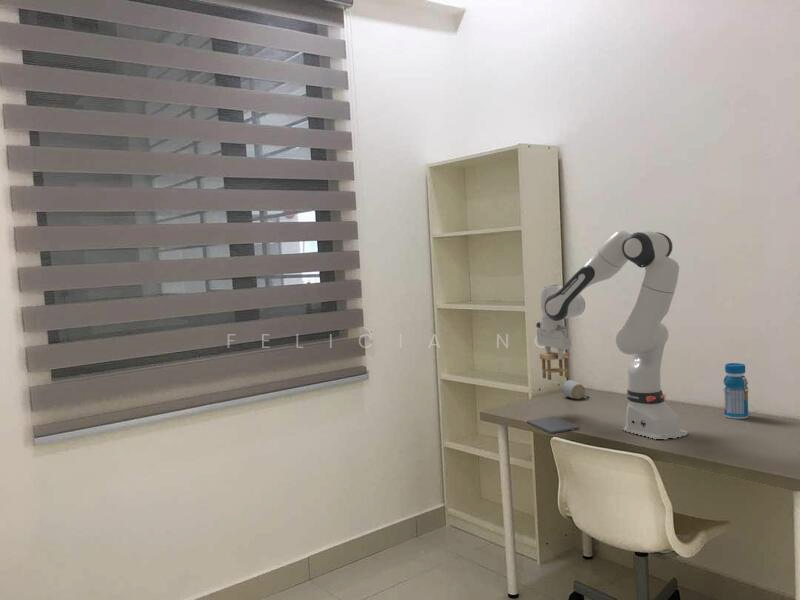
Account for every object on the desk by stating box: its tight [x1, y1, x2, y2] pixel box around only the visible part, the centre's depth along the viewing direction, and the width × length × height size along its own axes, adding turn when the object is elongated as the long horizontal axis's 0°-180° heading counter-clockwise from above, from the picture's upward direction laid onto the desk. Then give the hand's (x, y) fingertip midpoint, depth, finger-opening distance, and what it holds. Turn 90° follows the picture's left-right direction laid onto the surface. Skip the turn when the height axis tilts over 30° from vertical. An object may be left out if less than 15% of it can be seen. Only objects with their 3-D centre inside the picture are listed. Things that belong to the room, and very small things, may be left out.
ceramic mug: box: [561, 379, 589, 400], centre depth 290 cm, size 11×8×8 cm
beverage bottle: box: [722, 362, 750, 420], centre depth 243 cm, size 8×8×20 cm
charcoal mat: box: [526, 416, 580, 435], centre depth 246 cm, size 18×12×1 cm, turn 18°
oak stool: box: [539, 351, 570, 381], centre depth 264 cm, size 10×6×10 cm, turn 108°
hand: (554, 358), depth 264 cm, fingers closed on oak stool, 6 cm apart
